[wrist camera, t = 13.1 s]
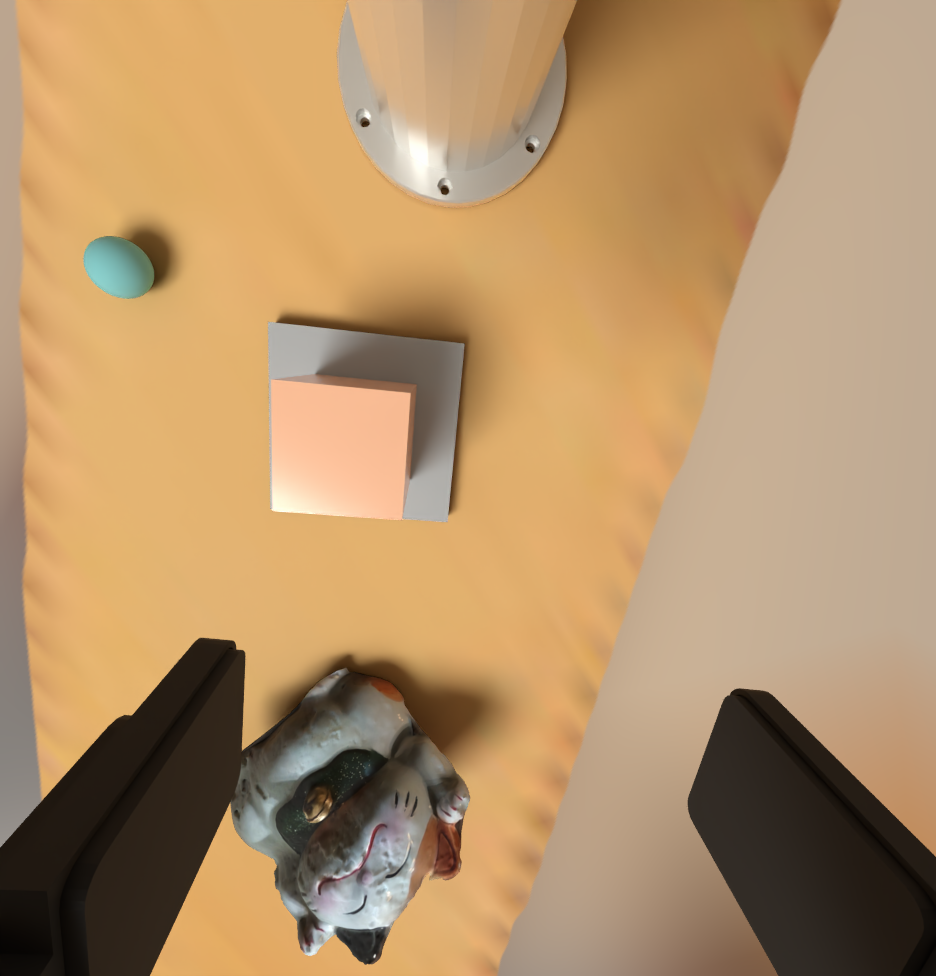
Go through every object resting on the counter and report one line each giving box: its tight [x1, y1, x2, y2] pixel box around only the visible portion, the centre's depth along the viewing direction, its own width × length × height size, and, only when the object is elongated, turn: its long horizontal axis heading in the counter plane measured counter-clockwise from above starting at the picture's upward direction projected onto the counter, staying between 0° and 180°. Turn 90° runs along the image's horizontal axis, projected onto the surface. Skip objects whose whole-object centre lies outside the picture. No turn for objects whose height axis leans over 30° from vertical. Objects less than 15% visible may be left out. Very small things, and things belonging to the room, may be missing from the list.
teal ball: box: [84, 236, 154, 299], centre depth 26 cm, size 3×3×3 cm
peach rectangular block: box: [271, 374, 417, 520], centre depth 26 cm, size 6×6×8 cm
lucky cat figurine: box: [230, 668, 470, 965], centre depth 32 cm, size 15×12×14 cm
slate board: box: [268, 322, 465, 522], centre depth 30 cm, size 12×12×1 cm
